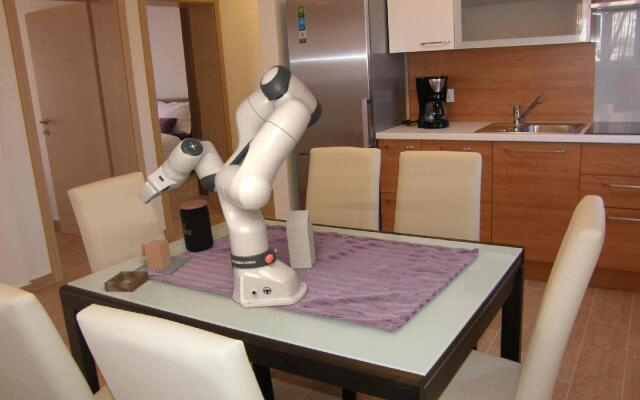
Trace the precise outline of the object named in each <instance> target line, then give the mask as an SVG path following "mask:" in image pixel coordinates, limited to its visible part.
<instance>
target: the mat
mask: <svg viewBox="0 0 640 400" xmlns="http://www.w3.org/2000/svg"><path fill="white" fill-rule="evenodd" d="M190 260H191V257H174V258H173V257H171V262H172V263H171V264H170V265H169V266H167V267H166V268H165V269H163V270H156V272H155V273H159V274H164V275H170V274H171V275H172V273H173V272H174V271H175V272H177V271H178V270H179V269H180V268H182V267H183V266H184V265H185V264H187V263H188V262H189V261H190ZM146 267H148V266H147V261H146V262H144V263H143V264H142V265H140V266H139V267H137V268H136V269H134V270H133V271H139V270H141V269H144V268H146ZM177 269H178V270H177ZM157 271H158V272H157ZM175 272H174V273H175ZM174 273H173V274H174ZM171 275H170V276H171Z"/></svg>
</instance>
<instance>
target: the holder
mask: <svg viewBox="0 0 640 400" xmlns="http://www.w3.org/2000/svg"><path fill="white" fill-rule="evenodd" d="M148 281H150V276H148V271H134V270H132V271H130V270H129V271H128V270H127V271H125V270H124V271H123V270H121V271H120V272H118V273H117V274H115V275H114V276H112V277H111V278H109V279H108V280H107V281H105V282H103V284H104V288H105V292H111V293H112V292H117V293H120V292H121V293H122V292H123V293H125V292H126V293H132V292H135V291H136V290H138V289H139V288H140V287H142V286H143V285H144V284H145V283H147V282H148Z"/></svg>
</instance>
